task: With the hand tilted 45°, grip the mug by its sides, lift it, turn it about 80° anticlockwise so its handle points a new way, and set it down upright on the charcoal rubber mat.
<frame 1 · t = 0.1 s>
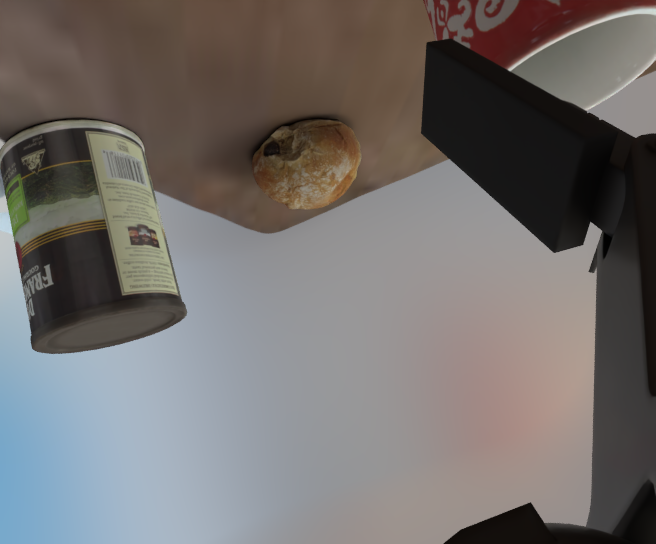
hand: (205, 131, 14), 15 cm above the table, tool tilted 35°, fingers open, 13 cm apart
coffee can: (75, 154, 41), on the table
bread roll: (304, 142, 51), on the table
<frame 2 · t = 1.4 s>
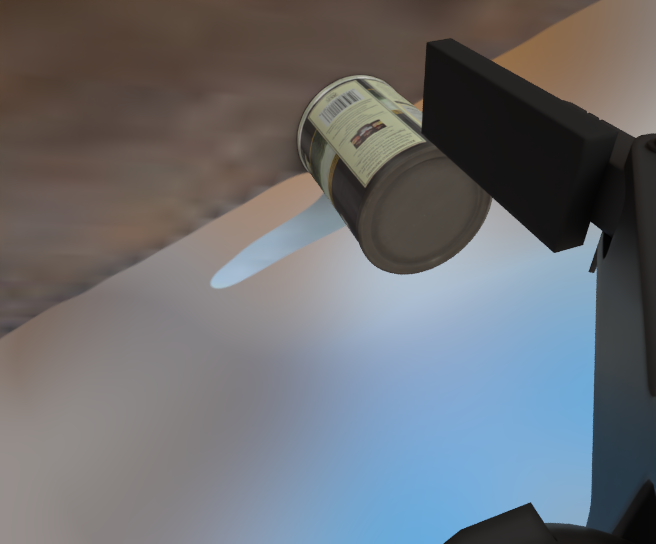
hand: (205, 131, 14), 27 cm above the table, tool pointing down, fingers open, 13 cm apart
coffee can: (351, 132, 47), on the table
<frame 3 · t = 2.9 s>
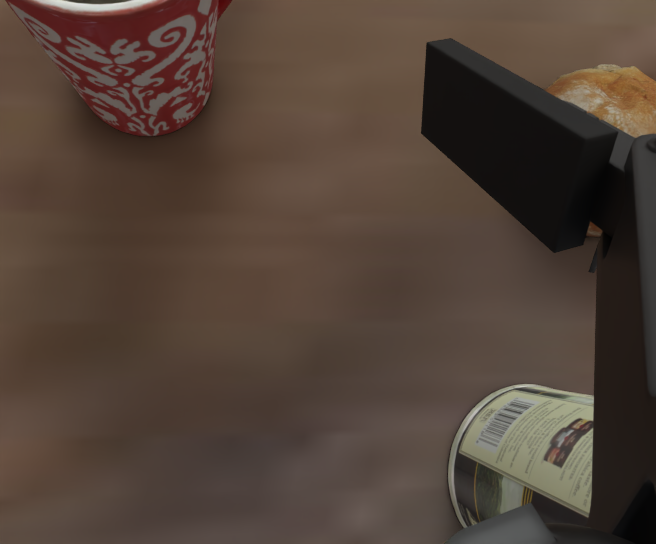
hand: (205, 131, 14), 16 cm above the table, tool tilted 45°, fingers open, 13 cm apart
coffee can: (526, 470, 32), on the table
bread roll: (576, 157, 35), on the table
mug: (173, 63, 30), on the table
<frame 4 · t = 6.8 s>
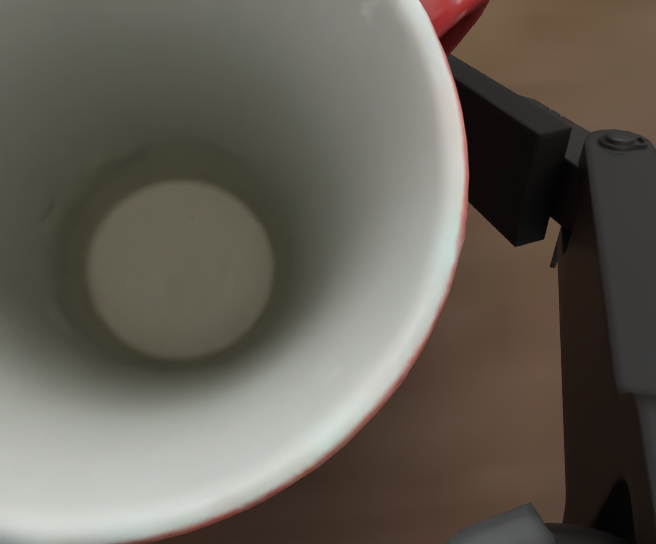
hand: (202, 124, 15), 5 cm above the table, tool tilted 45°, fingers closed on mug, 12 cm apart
mug: (225, 248, 20), on the table, touching gripper
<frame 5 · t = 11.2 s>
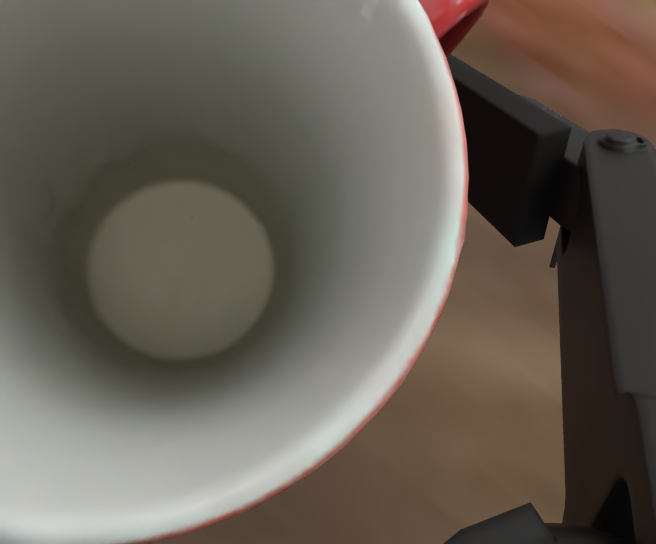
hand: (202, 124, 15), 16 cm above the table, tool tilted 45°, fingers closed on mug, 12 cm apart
mug: (225, 248, 20), point 10 cm above the table, touching gripper
when the fingers open (6 cm above the table, at t = 15.6 s): mug stays where it is, resting on mat.
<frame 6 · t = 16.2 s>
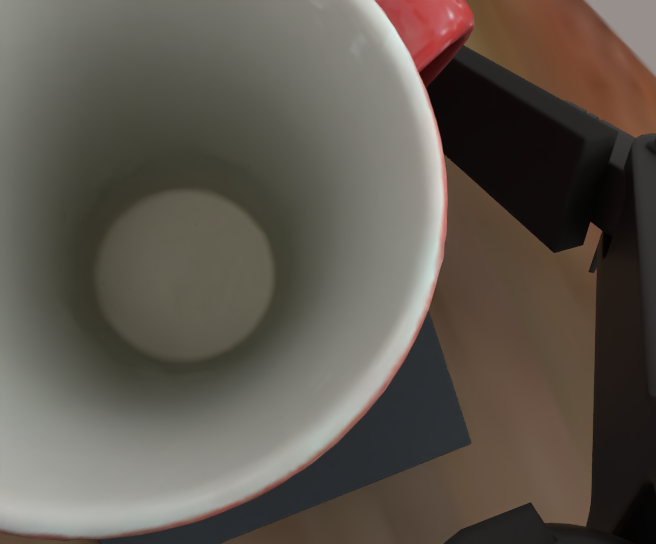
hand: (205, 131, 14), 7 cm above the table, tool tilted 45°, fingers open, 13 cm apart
mug: (227, 253, 21), resting on mat
mat: (227, 254, 21), on the table
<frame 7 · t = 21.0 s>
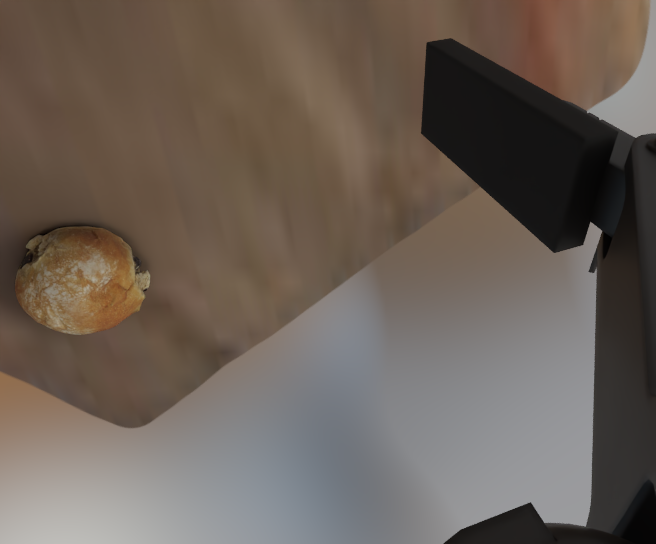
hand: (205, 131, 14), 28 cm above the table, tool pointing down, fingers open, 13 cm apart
bread roll: (86, 267, 48), on the table
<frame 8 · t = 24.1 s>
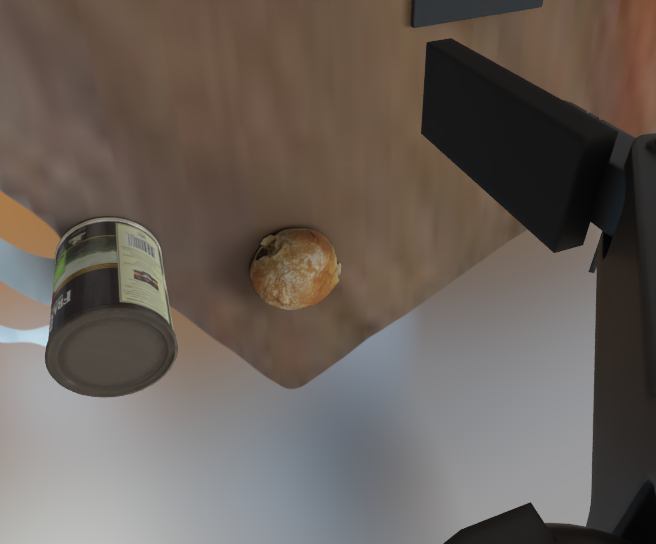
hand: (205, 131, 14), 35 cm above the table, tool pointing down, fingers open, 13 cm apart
coffee can: (110, 258, 55), on the table
bread roll: (292, 259, 63), on the table
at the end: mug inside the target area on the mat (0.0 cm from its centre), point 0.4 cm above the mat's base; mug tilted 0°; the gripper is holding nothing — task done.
